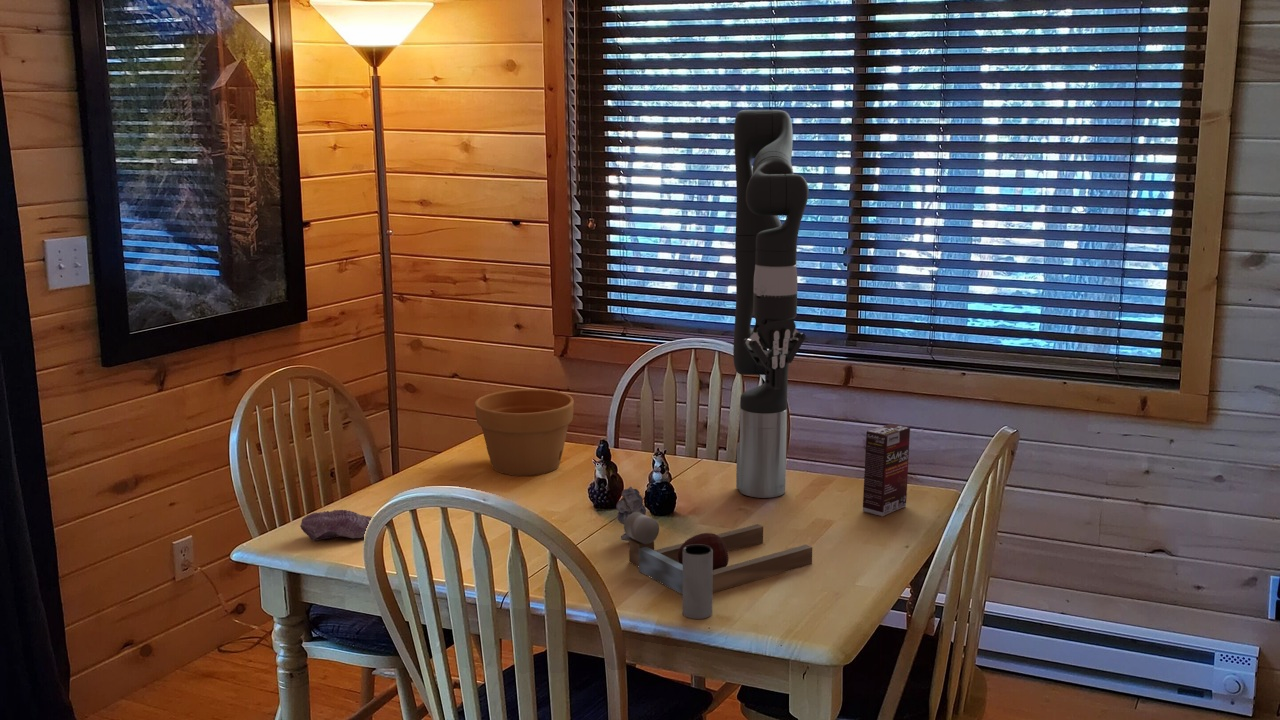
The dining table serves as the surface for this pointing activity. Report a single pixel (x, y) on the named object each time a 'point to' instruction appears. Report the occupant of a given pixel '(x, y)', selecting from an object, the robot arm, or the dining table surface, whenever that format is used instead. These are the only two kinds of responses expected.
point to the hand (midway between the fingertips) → (773, 388)
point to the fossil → (335, 524)
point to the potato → (714, 542)
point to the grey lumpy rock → (629, 506)
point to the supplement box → (886, 469)
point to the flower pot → (525, 429)
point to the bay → (670, 571)
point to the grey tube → (697, 581)
